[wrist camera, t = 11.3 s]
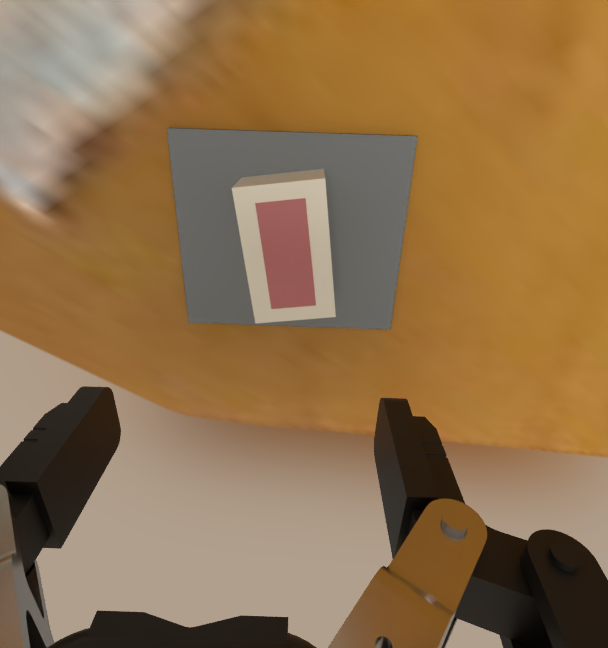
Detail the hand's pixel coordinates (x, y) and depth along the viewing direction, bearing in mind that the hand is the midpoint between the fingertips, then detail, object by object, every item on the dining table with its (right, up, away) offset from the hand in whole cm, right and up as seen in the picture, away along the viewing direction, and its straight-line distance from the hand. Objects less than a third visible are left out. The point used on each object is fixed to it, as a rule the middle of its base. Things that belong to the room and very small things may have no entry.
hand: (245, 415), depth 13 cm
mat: (+1, +9, +18) cm, 20 cm away
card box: (+1, +9, +17) cm, 20 cm away
